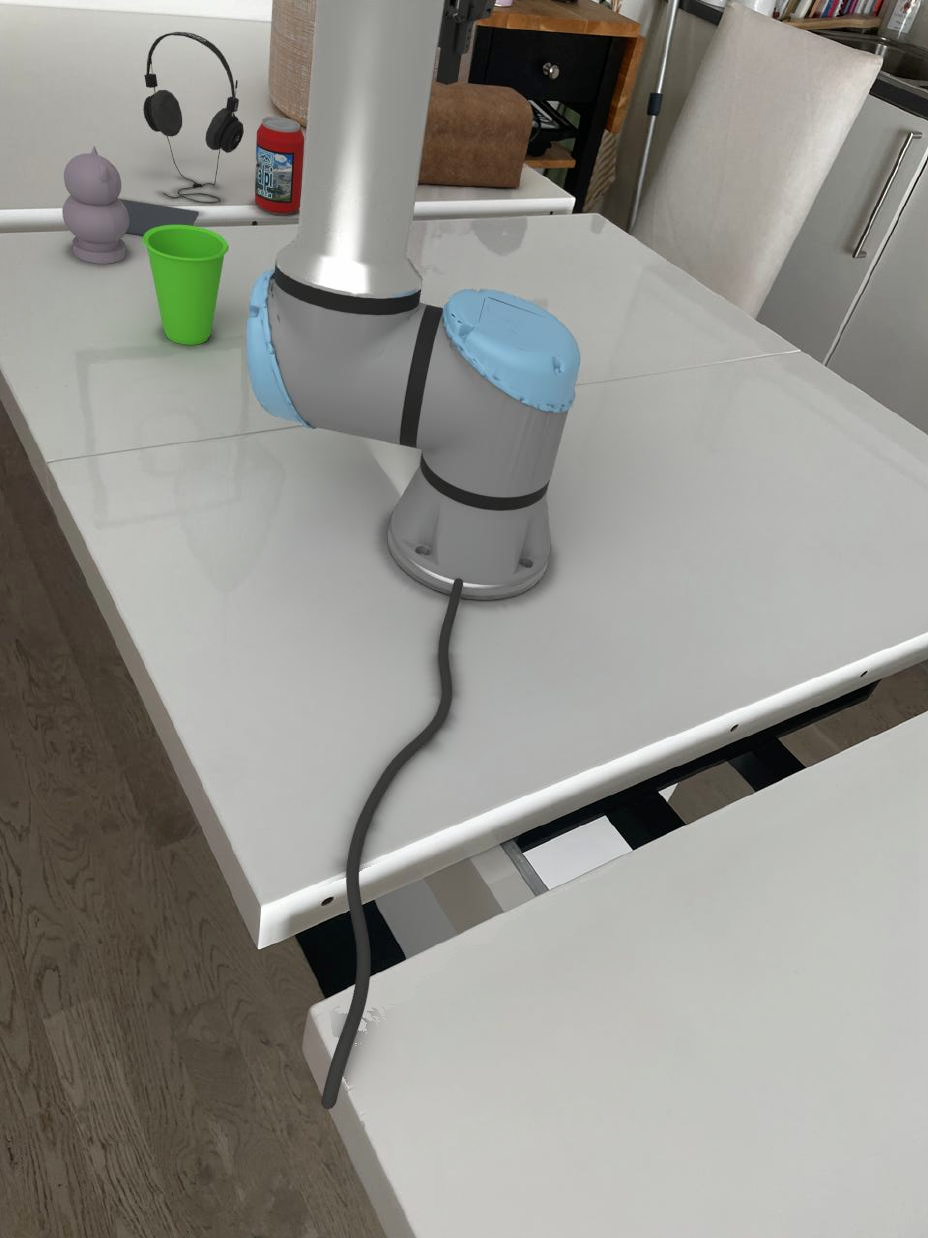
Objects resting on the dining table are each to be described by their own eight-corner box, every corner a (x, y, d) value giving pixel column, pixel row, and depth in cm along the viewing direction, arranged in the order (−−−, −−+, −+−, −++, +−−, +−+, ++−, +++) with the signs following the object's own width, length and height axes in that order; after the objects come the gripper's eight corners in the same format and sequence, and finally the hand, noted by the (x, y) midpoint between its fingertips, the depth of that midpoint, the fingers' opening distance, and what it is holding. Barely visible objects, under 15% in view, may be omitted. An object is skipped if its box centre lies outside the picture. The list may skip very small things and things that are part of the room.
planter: (468, 113, 203) (498, -75, 181) (448, 167, 175) (481, -48, 154) (293, 75, 201) (303, -119, 180) (244, 123, 174) (249, -100, 152)
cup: (138, 318, 115) (133, 224, 108) (215, 314, 119) (215, 223, 112) (157, 355, 109) (153, 259, 102) (237, 350, 113) (239, 257, 106)
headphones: (119, 181, 144) (110, 27, 131) (161, 163, 153) (156, 16, 140) (211, 210, 142) (211, 56, 129) (248, 189, 151) (252, 43, 138)
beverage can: (245, 206, 146) (247, 119, 138) (272, 196, 150) (275, 111, 143) (282, 220, 144) (287, 133, 136) (309, 210, 149) (314, 125, 141)
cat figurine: (59, 239, 127) (49, 141, 119) (122, 238, 130) (116, 142, 122) (73, 268, 121) (64, 167, 114) (138, 265, 125) (133, 168, 117)
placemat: (185, 241, 133) (185, 240, 133) (100, 229, 131) (100, 227, 131) (198, 212, 141) (198, 211, 141) (119, 200, 139) (119, 198, 139)
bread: (521, 190, 172) (539, 103, 163) (333, 181, 160) (341, 85, 150) (492, 162, 181) (507, 77, 172) (312, 151, 169) (318, 59, 159)
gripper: (555, -156, 101) (509, 92, 117) (445, -184, 105) (415, 62, 120) (524, -159, 96) (480, 102, 111) (410, -188, 99) (383, 69, 115)
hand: (446, 81), depth 116 cm, fingers closed
